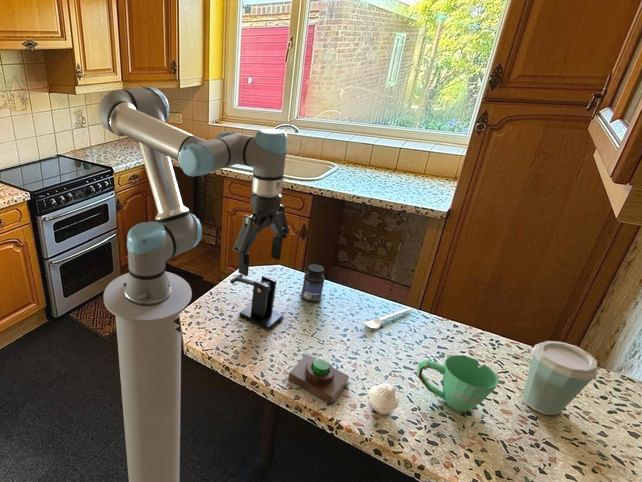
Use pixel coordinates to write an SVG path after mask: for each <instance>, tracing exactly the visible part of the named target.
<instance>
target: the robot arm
mask: <svg viewBox="0 0 642 482" xmlns="http://www.w3.org/2000/svg"><path fill="white" fill-rule="evenodd" d="M169 113H170V105H169V102H168V99H167V97H166V96H165V94H164V93H163V92H162V91H161V90H159V89H158V88H157V87H153V86H152V87H148V86H141V87H135V88H134V87H133V88H125V89H116V90H112V91H110V92H108V93H106V94H105V95H104V96H103V97H102V99H101V101H100V103H99V105H98V117H99V121H100V123H101V124H102V126H103V127H104V128H105V129H106V130H107V131H109V132H110V133H112V134H114V135H116V136H118V137H128V138H130V139H132V140H134V141H136V142H137V143H138V147H139V152H140V154H141V157H142V162H143V165H144V168H145V171H146V175H147V178H148V183H149V186H150V190H151V192H152V196H153V200H154V204H155V207H156V210H157V214H156V216H155V217H154V220H155V221H148V222H147V221H144V222H143V221H142V222H140V223H137V224H136V225H134V226H133V227H131V228H130V229H129V230H128V233H127V236H126V248H127V261H128V273H129V275H128V279H127V283H124V284H123V285H124V286H125V289H124V291H125V297H126V299H127V300H128V301H130V302H131V303H133V304H136V305H140V306H153V305H157V304H160V303H163V302H164V301H166V300H167V299H168V298H169V297H170V295H171V286H170V283H169V280H168V277H167V275H166V272H167V271H166V262H167V260H170V259H172V258H174V257H176V256H179V255H181V254H183V253H184V252H189V251H191V250H192V249H193V248H195V247H196V246H198V244H199V243H200V241H201V239H202V234H203V228H202V224H201V222H200V220H199V218H197V216H196V215H195V214H193V213H191V212H190V209H189V207H186V206H185V205H184V204H183V200H182V196H181V193H180V189H179V186H178V182H177V178H176V174H175V170H174V168H173V163H172V160H174V161H176V162H178V165H179V168H180V169H181V170H182V171H183V174H185V175H186V176H188V177H198V176H205V175H207V174H209V173H210V174H211V173H212V172H213V173H214V172H215V171H219V170H221V169H225V168H229V167H232V166H235V165H240V166H245V167H250V168H252V181H251V192H252V193H251V196H250V207H251V209H252V214H251V215H247V214H245V215H244V216H243V220H242V225H241V227H240V230H239V233H238V235H237V238H236V240H235V243H234V246H233V249H232V251H233V253H235V254H238V259H237V260H238V263H237V264H238V273H239V274H242V275H243V277H248V276H249V269H250V256H251V255H250V254H251V253H249V251H250V249H251V248H252V246H253V244H254V243H255V240H256V239H257V237H258V235H259V234H260V233H262V231H263V230H264V229H266V228H269V227H270V229H271V231H272V232H273V233H274V236H272V243H271V253H270V258H272V259H273V260H277V261H280V260H281V257H282V249H283V243H284V240H286V239H288V234H289V233H290V229H289V225H288V221H287V217H286V206H285V205H283V204H282V193H283V184H284V176H285V167H286V159H287V153H288V134H287V132H285V130H282V129H277V128H274V129H273V128H264V129H259V130H257V132H256V133H255V136H254V135H249V134H244V133H239V132H234V131H230V132H229V131H222V132H220V133H219V134H218V135H217V136H216V137H215V138H212V139H203V138H201V137H199V136H196V135H194V134H192V133H189V132H187V131H185V130H182V129H180V128H179V127H176V126H174V125H171V124H169V123H167V120H168V119H169V115H170V114H169ZM171 159H172V160H171ZM165 271H166V272H165Z"/></svg>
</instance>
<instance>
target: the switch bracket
mask: <svg viewBox="0 0 642 482" xmlns="http://www.w3.org/2000/svg"><path fill="white" fill-rule="evenodd" d="M262 280H264V281H268V282H271V290H270V291H269V286H268V285H266V284H263V283H261V282H260V281H262ZM253 281H254V286H253V289H252V297H251V303H250V304H249V305H248V306H247V307H245V308H244V309H242V310H241V311H240V312H239V316H240V317H241V318H244V319H245V320H247V321H249V322H251V323H252V324H255V325H257V326H258V327H260V328H262V329H264V330H266V331H270V330H271V328H273V327H274V326H275V325H277V324H278V322H280V321H281V320H282V319H283V318H284V317H283V316H284V315H283V314H282V313H281V312H278V311H276V310H274V302H275V295H276V287H277V280H276V279H275V278H272V277H270V276H267V275H265V274H263V275H262V276H261V280H260V281H259V280H257V279H256V280H253Z"/></svg>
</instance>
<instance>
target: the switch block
mask: <svg viewBox="0 0 642 482" xmlns="http://www.w3.org/2000/svg"><path fill="white" fill-rule="evenodd" d="M317 359H318V358H316V357H314V356H312V355H310V354H308V353H306V354H305V356H303V357H302V359H300V361H299V362H297V364H296V365H295V366H294V367H293V368H292V369H291V370H290V371H289V374H288V381H291V382H293V383H294V384H296V385H298V386H299V387H301V388H303V389H304V390H306V391H308V392H310V393H311V394H313V395H315V396H316V397H318V398H320V399H322V400H323V401H325V402H327V403H329V404H330V405H332V404H333V403H334V401H335V400H336V399H337V397H338V396H339V394H341V392H342V390H343V389H344V388H345V387H346V385H347V384H348V381H349V377H350V375H348V374H346V373H344V372H342V371H340V370H339V369H337V368H334V367H333V365H332V364H331V363H330V362H328V361H326V362H327V363H328V364H329V370H328V373H327V374H326V375H318V374H317V373H315V372H314V371H313V369H312V367H313V362H314V361H315V360H317Z"/></svg>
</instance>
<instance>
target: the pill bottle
mask: <svg viewBox="0 0 642 482" xmlns="http://www.w3.org/2000/svg"><path fill="white" fill-rule="evenodd" d="M324 270H325V268H324V267H323V266H322V265H319V264H313V263H312V264H309V265H308V267H307V271H306V272H305V273H304V277H303V281H302V287H301V293H300V294H301V295H300V296H301V297H302V299H303V300H305V301H307V302H310V303H318V302H319V301H321V299H322V294H323V289H324V284H325V279H326V278H325V275H324Z"/></svg>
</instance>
